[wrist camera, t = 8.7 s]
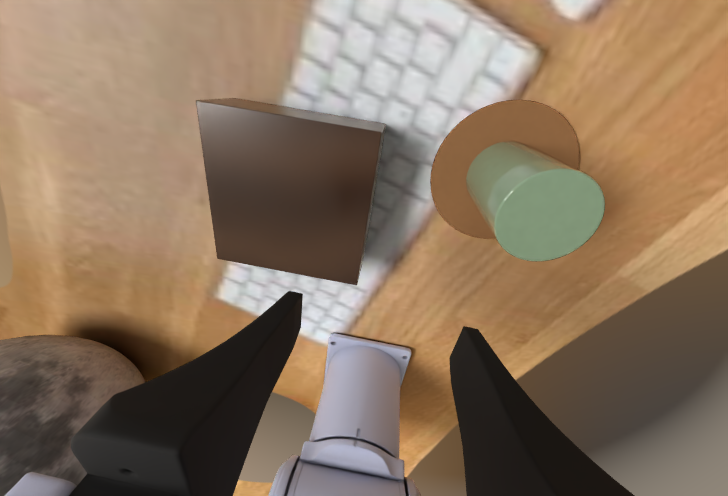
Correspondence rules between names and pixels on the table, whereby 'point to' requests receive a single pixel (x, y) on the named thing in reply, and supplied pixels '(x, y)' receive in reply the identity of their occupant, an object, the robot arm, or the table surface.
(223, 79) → the table surface
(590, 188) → the sage green cylinder
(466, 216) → the coaster
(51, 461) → the moon model
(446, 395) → the table surface
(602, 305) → the table surface
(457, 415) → the robot arm
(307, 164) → the stand
